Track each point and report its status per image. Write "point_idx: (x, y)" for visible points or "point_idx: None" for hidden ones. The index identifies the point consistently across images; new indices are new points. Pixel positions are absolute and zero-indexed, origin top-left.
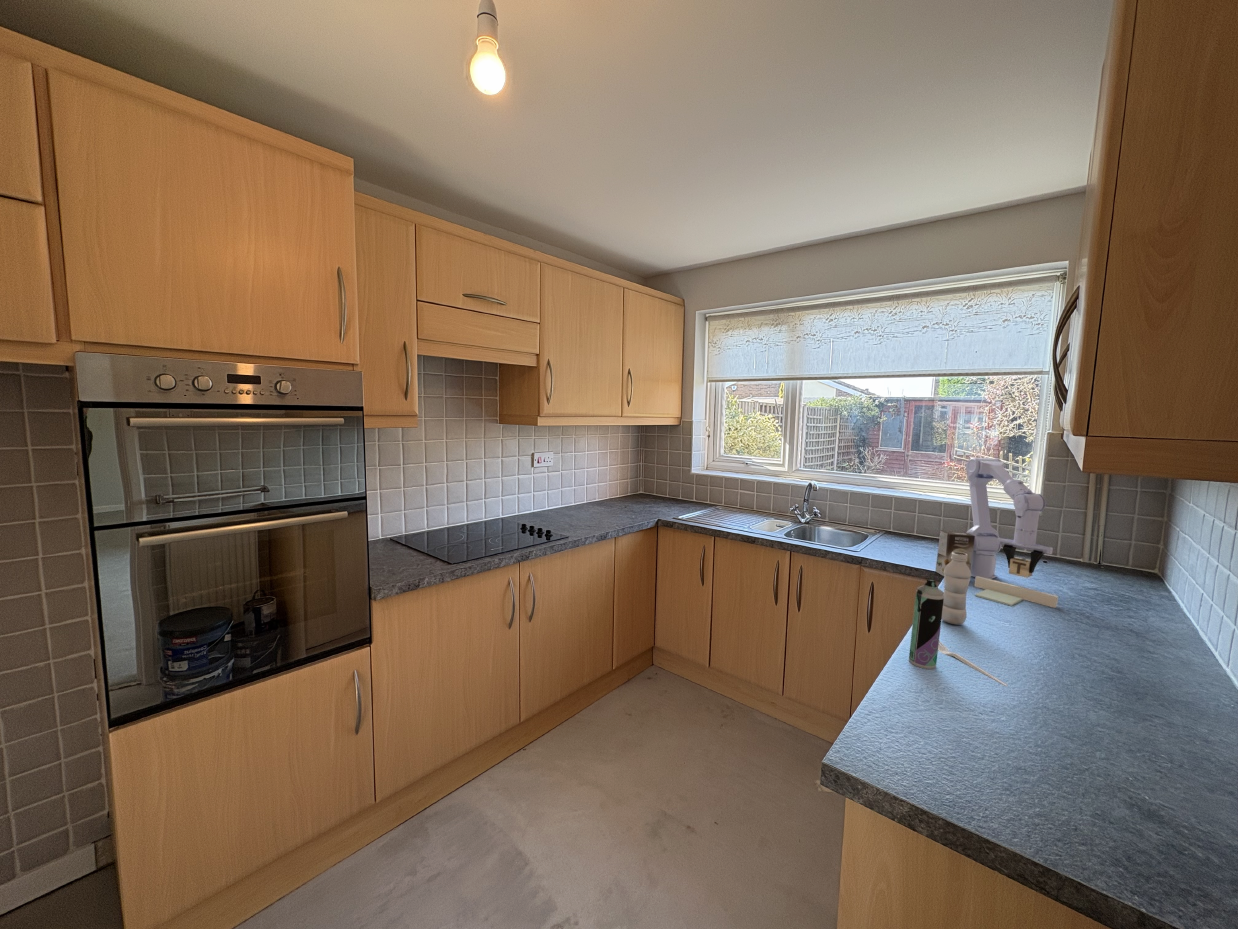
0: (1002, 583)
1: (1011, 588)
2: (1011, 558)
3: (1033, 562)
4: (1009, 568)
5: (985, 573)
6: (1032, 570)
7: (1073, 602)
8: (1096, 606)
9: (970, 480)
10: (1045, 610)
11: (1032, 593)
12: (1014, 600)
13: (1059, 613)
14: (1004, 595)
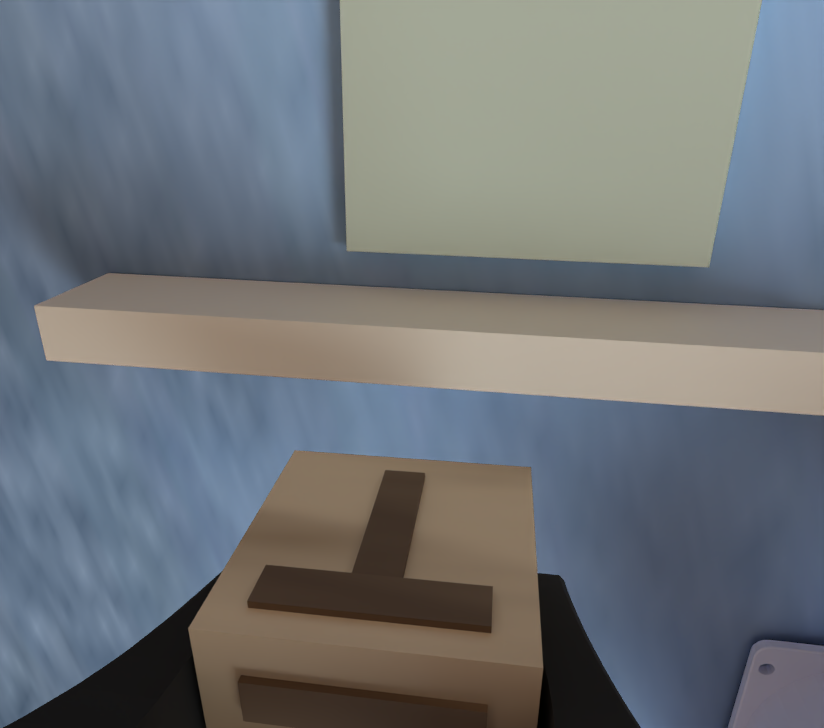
0: (568, 337)
1: (464, 318)
2: (537, 716)
3: (124, 671)
4: (531, 519)
5: (811, 723)
6: None
7: (125, 574)
8: (22, 603)
9: None
10: (107, 85)
11: (257, 309)
12: (369, 64)
13: (13, 116)
14: (500, 176)
